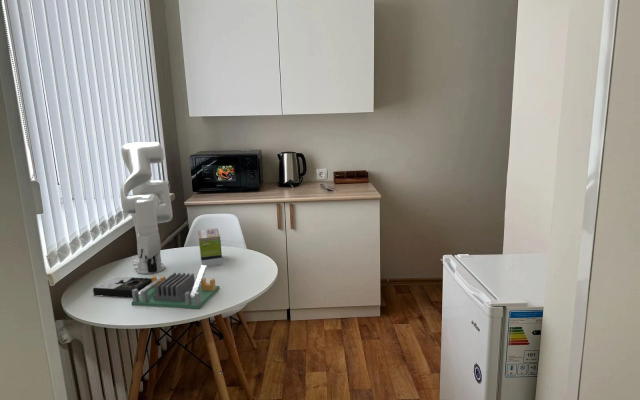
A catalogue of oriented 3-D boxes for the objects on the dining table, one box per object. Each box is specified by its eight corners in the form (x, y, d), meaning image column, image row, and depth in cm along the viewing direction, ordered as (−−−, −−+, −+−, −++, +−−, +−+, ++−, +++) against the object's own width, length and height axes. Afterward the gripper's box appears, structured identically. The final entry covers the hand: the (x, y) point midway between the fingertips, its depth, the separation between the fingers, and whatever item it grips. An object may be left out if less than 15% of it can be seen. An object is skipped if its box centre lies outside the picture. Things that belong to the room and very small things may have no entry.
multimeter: (135, 299, 174) (133, 287, 173) (93, 296, 178) (91, 284, 177) (153, 286, 187) (152, 275, 186) (114, 284, 191) (112, 273, 190)
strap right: (189, 298, 164) (188, 297, 163) (202, 266, 174) (201, 265, 173) (195, 299, 164) (194, 297, 163) (207, 267, 174) (206, 265, 173)
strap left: (136, 295, 168) (136, 293, 168) (157, 281, 182) (156, 278, 182) (141, 296, 168) (141, 293, 167) (161, 281, 182) (161, 278, 181)
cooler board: (131, 304, 168) (129, 287, 167) (158, 285, 186) (156, 269, 185) (199, 308, 163) (197, 290, 161) (219, 288, 181) (218, 272, 180)
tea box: (200, 258, 220) (197, 229, 217) (220, 255, 223) (218, 227, 220) (201, 267, 206) (198, 237, 203) (223, 265, 209) (220, 235, 206)
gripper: (149, 223, 181) (154, 264, 186) (128, 234, 167) (133, 278, 171) (166, 223, 180) (170, 265, 184) (145, 235, 165) (150, 280, 170)
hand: (152, 271), depth 178 cm, fingers closed
